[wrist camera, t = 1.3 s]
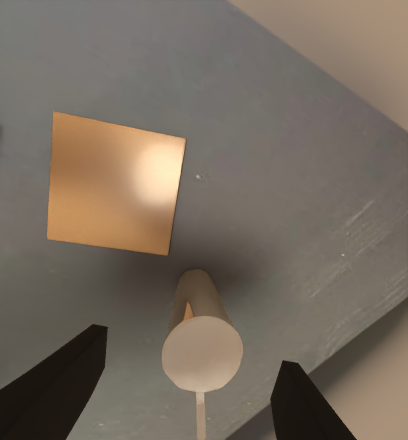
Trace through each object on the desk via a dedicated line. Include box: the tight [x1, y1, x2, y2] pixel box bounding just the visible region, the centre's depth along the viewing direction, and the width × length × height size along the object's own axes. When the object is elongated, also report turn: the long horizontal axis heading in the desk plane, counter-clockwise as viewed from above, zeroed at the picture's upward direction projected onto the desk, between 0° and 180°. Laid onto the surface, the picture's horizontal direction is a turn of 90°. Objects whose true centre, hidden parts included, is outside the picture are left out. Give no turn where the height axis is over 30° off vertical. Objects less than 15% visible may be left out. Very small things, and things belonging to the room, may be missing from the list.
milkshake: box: [162, 269, 243, 440], centre depth 15 cm, size 5×5×10 cm
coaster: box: [47, 112, 186, 255], centre depth 17 cm, size 10×10×1 cm
